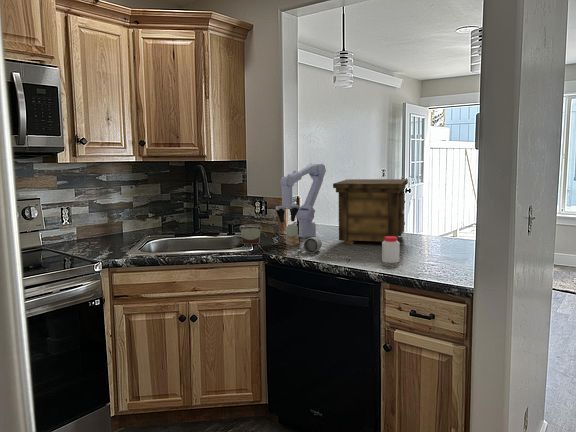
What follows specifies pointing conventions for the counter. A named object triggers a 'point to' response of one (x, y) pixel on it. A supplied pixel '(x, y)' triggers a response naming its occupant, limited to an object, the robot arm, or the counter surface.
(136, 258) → the counter surface
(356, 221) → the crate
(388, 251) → the pill bottle
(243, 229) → the food container
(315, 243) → the ceramic mug
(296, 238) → the slab upper
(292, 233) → the sage block
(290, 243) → the slab lower
